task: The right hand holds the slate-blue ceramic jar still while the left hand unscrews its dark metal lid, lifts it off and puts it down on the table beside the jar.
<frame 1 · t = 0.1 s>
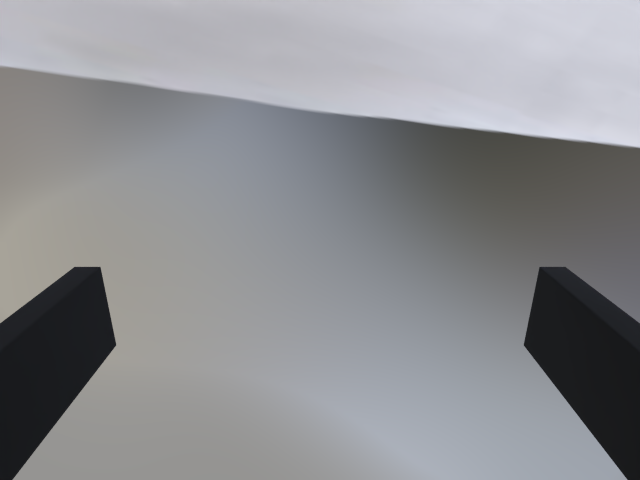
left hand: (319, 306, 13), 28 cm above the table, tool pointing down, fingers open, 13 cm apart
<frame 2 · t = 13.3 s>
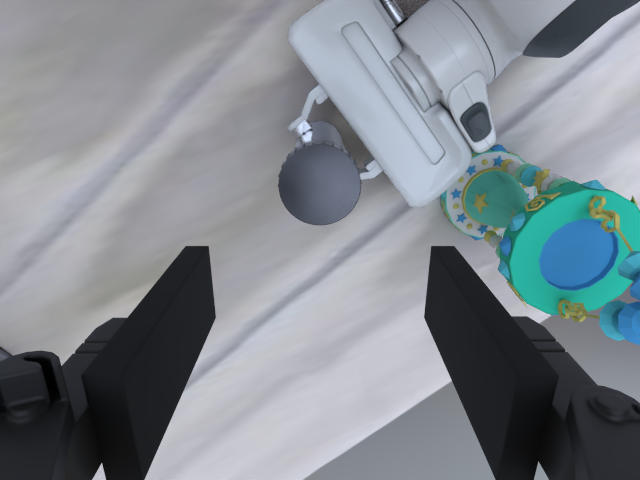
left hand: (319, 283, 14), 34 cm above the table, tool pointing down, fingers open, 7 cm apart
right hand: (313, 159, 40), fingers closed on jar, 5 cm apart
jar: (320, 143, 46), on the table, touching right hand
lid: (319, 185, 28), point 20 cm above the table, screwed on, not yet turned
decorative hourglass: (483, 191, 48), on the table
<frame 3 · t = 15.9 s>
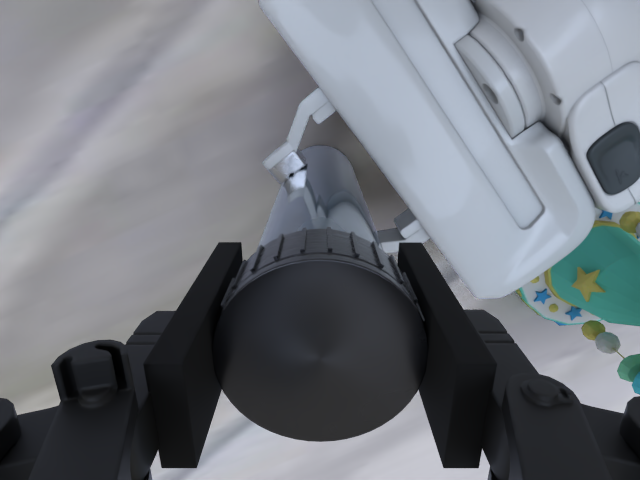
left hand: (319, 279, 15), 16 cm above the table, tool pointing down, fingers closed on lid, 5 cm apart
right hand: (308, 215, 23), fingers closed on jar, 5 cm apart
jar: (320, 180, 29), on the table, touching right hand
lid: (320, 350, 11), point 20 cm above the table, screwed on, not yet turned, touching left hand
decorative hourglass: (572, 252, 31), on the table
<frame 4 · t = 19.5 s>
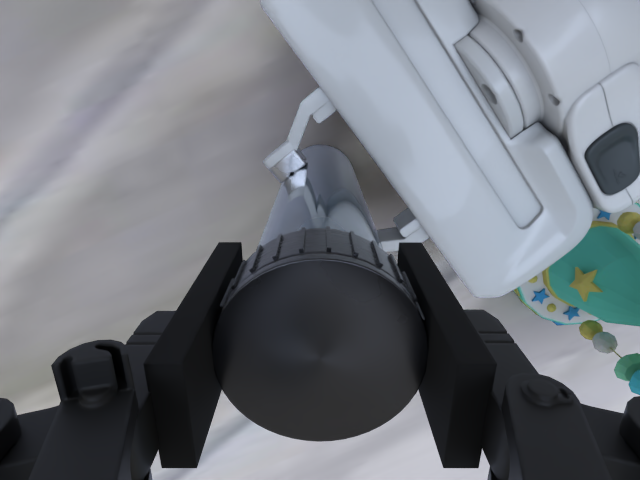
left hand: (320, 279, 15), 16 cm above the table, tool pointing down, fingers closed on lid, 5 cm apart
right hand: (308, 214, 24), fingers closed on jar, 5 cm apart
jar: (320, 179, 29), on the table, touching right hand
lid: (320, 350, 11), point 20 cm above the table, turned 112° so far, risen 0.2 cm, still on its thread, touching left hand
decorative hourglass: (570, 252, 31), on the table
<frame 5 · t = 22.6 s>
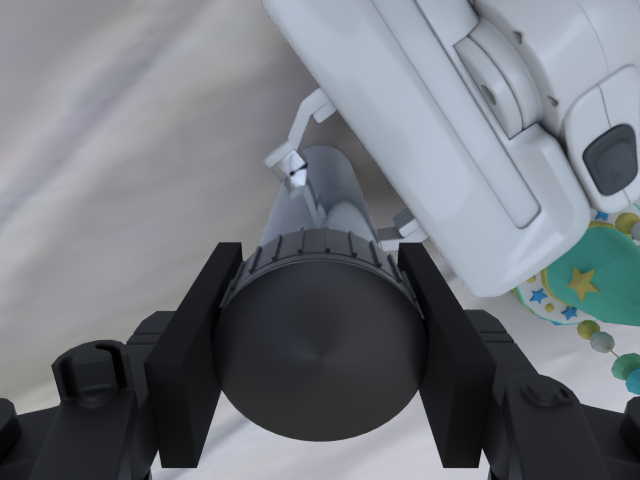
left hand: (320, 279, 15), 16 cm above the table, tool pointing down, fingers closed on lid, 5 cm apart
right hand: (308, 213, 24), fingers closed on jar, 5 cm apart
jar: (320, 178, 29), on the table, touching right hand
lid: (319, 350, 11), point 20 cm above the table, turned 223° so far, risen 0.3 cm, still on its thread, touching left hand
decorative hourglass: (568, 253, 31), on the table
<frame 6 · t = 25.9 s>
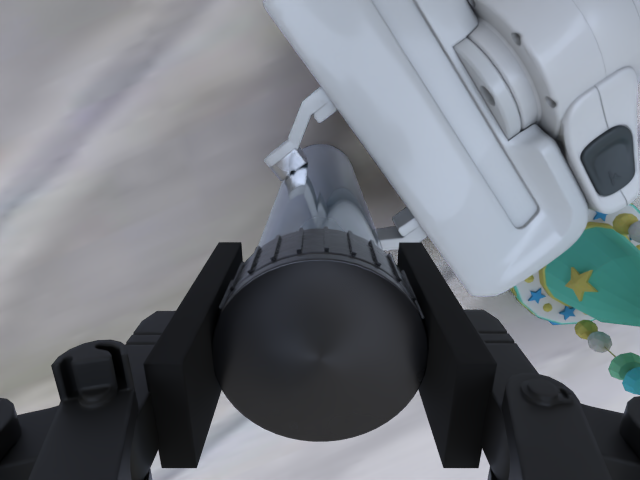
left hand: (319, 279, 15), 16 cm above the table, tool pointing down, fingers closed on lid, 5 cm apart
right hand: (308, 213, 24), fingers closed on jar, 5 cm apart
jar: (320, 178, 30), on the table, touching right hand
lid: (319, 350, 11), point 20 cm above the table, turned 335° so far, risen 0.5 cm, still on its thread, touching left hand
decorative hourglass: (566, 253, 32), on the table
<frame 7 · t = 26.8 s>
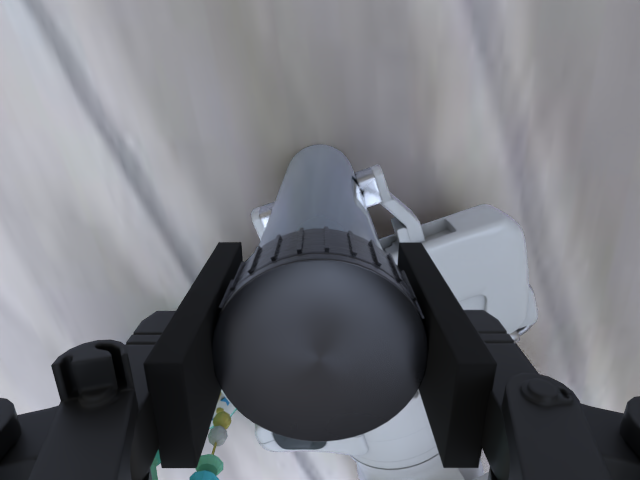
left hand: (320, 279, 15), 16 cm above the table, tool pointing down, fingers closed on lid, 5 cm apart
right hand: (313, 189, 23), fingers closed on jar, 5 cm apart
jar: (320, 178, 30), on the table, touching right hand
lid: (319, 350, 11), point 20 cm above the table, off its thread, touching left hand
decorative hourglass: (190, 366, 35), on the table
when the left hand's fingers open (0 cm above the table, at t = 34.1 s): lid drops 2 cm, point 2 cm above the table.
when the right hand's fingers open (6 cm above the table, at t = 34.8 s): jar stays where it is, on the table.
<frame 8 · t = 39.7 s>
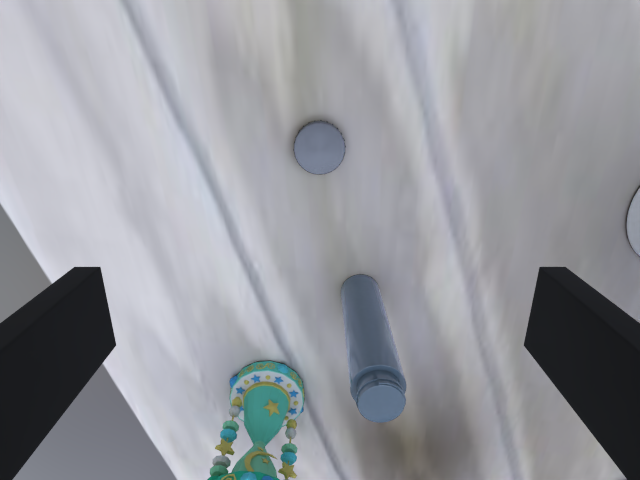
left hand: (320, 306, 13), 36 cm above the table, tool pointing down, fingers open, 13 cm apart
jar: (360, 291, 53), on the table
lid: (319, 148, 45), point 2 cm above the table, off its thread
decorative hourglass: (268, 389, 58), on the table
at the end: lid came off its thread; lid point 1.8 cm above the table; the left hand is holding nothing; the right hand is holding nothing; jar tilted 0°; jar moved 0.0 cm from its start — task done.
